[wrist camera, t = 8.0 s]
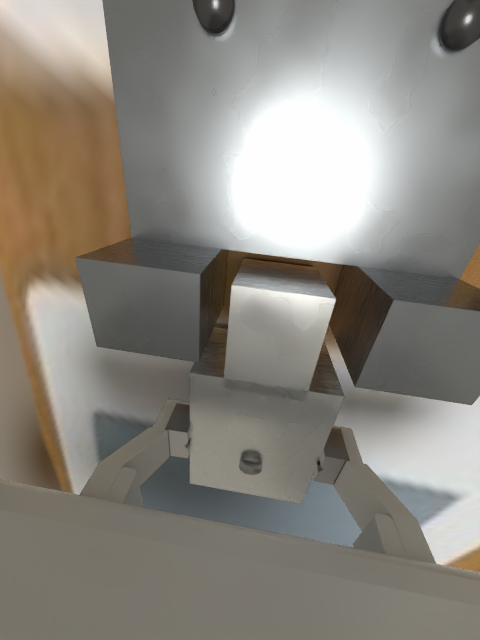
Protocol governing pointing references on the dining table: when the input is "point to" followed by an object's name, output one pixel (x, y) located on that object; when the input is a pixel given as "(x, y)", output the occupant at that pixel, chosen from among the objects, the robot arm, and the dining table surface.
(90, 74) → the dining table surface
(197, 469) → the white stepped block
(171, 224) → the gunmetal leaf
